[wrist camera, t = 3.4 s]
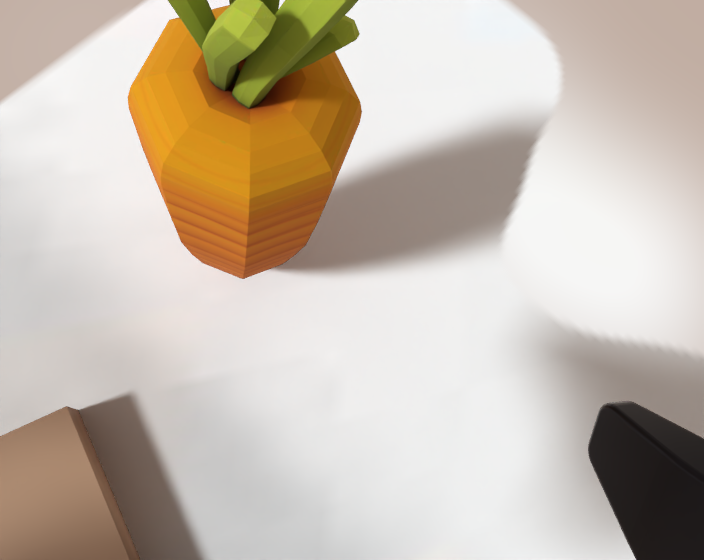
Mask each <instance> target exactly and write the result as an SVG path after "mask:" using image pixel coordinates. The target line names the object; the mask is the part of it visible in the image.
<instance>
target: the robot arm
mask: <svg viewBox="0 0 704 560" xmlns="http://www.w3.org/2000/svg"><path fill="white" fill-rule="evenodd" d="M588 452H589V458H590V461H591V464H592V466H593V468H594V470H595V472H596V474H597V477H598V479H599V481H600V483H601V485H602V488H603V490H604V492H605V494H606V496H607V498H608V501H609V503H610V505H611V507H612V509H613V512H614V514H615V516H616V518H617V520H618V522H619V525H620V527H621V529H622V531H623V533H624V535H625V538H626V540H627V542H628V544H629V546H630V548H631V550H632V552H633V554H634V556H635V558H636V560H704V439H703V438H701V437H700V436H698V435H696V434H694V433H692V432H690V431H688V430H686V429H684V428H682V427H680V426H678V425H676V424H675V423H673V422H671V421H669V420H667V419H665V418H663V417H661V416H659V415H657V414H655V413H653V412H652V411H650V410H648V409H646V408H644V407H642V406H640V405H638V404H636V403H634V402H631V401H622V402H613V403H607V404H604V405H603V406H602V407H601V408H600V410H599V413H598V416H597V419H596V422H595V425H594V429H593V432H592V435H591V438H590V441H589V445H588Z"/></svg>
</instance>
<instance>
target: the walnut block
mask: <svg viewBox="0 0 704 560" xmlns="http://www.w3.org/2000/svg"><path fill="white" fill-rule="evenodd" d="M0 560H140V558H139V556H138V553H137V551H136V548H135V546H134V544H133V541H132V539H131V536H130V534H129V531H128V529H127V527H126V524H125V522H124V519H123V517H122V515H121V512H120V510H119V507H118V505H117V503H116V500H115V498H114V495H113V493H112V490H111V488H110V486H109V483H108V481H107V478H106V476H105V474H104V471H103V469H102V466H101V464H100V461H99V459H98V457H97V454H96V452H95V449H94V447H93V445H92V442H91V440H90V437H89V435H88V433H87V430H86V428H85V425H84V423H83V420H82V418H81V416H80V413H79V411H78V410H76V409H73V408H70V407H67V406H66V407H64V408H62V409H60V410H57V411H55V412H53V413H51V414H49V415H46V416H44V417H42V418H40V419H38V420H35V421H33V422H31V423H29V424H27V425H24V426H22V427H20V428H18V429H16V430H13V431H11V432H9V433H7V434H5V435H2V436H0Z"/></svg>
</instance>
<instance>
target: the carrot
mask: <svg viewBox="0 0 704 560" xmlns="http://www.w3.org/2000/svg"><path fill="white" fill-rule="evenodd" d="M168 1H169V3H170V4H171V6H172V7H173V8H174V10H175V11H176V13H177V14H178V16H179V17H180V18H176V19H171V20H169V22H168V23H167V25H166V27H165V28H164V30H163V32H162V34H161V35H160V37H159V39H158V41H157V42H156V44H155V46H154V47H153V49H152V51H151V53H150V54H149V56H148V58H147V60H146V61H145V63H144V65H143V66H142V68H141V70H140V72H139V73H138V75H137V77H136V79H135V80H134V82H133V84H132V85H131V88H130V91H129V95H128V105H129V110H130V113H131V116H132V119H133V121H134V124H135V127H136V130H137V133H138V136H139V139H140V142H141V145H142V148H143V151H144V153H145V155H146V158H147V160H148V163H149V165H150V168H151V170H152V173H153V175H154V177H155V180H156V182H157V185H158V187H159V190H160V192H161V194H162V197H163V199H164V202H165V204H166V206H167V209H168V211H169V214H170V216H171V218H172V221H173V223H174V225H175V228H176V230H177V233H178V235H179V237H180V240H181V242H182V243H183V245H184V246H185V247H186V248H187V249H188V250H189V251H190V252H191V254H192V255H194V256H195V257H196V258H197V259H198V260H200V261H201V262H202V263H204V264H207V265H209V266H212V267H214V268H217V269H219V270H222V271H224V272H227V273H229V274H232V275H234V276H237V277H239V278H242V279H244V278H247V277H250V276H252V275H255V274H257V273H260V272H263V271H265V270H268V269H270V268H273V267H276V266H278V265H281V264H283V263H285V262H286V261H287V260H289V259H290V258H292V257H293V256H294V255H295V254H297V253H298V252H299V251H300V250H301V249H302V248H303V247H304V246H305V245H306V243H307V242H308V240H309V238H310V236H311V234H312V232H313V230H314V228H315V226H316V225H317V223H318V220H319V218H320V216H321V214H322V211H323V209H324V207H325V204H326V202H327V200H328V197H329V195H330V193H331V190H332V188H333V186H334V183H335V181H336V178H337V176H338V173H339V171H340V169H341V166H342V164H343V161H344V159H345V156H346V154H347V152H348V149H349V147H350V144H351V142H352V139H353V137H354V135H355V132H356V130H357V127H358V125H359V122H360V118H361V113H362V111H361V104H360V101H359V99H358V97H357V95H356V93H355V91H354V89H353V87H352V85H351V83H350V81H349V79H348V77H347V75H346V73H345V71H344V69H343V67H342V65H341V63H340V61H339V59H338V57H337V55H336V53H335V51H336V50H338V49H340V48H342V47H344V46H346V45H347V44H349V43H351V42H353V41H355V40H356V39H357V37H358V36H359V31H358V29H357V26H356V24H355V21H354V20H353V19H351V18H349V17H347V16H345V14H346V13H347V12H348V11H349V10H350V9H351V8H352V7H353V6H354V5H355V3H356V2H357V1H358V0H285V2H284V3H283V4H282V6H281V7H280V8H279V10H278V7H279V0H229V2H230V5H228V6H224V7H220V8H216V9H212V10H211V8H210V6H209V4H208V1H207V0H168Z"/></svg>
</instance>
